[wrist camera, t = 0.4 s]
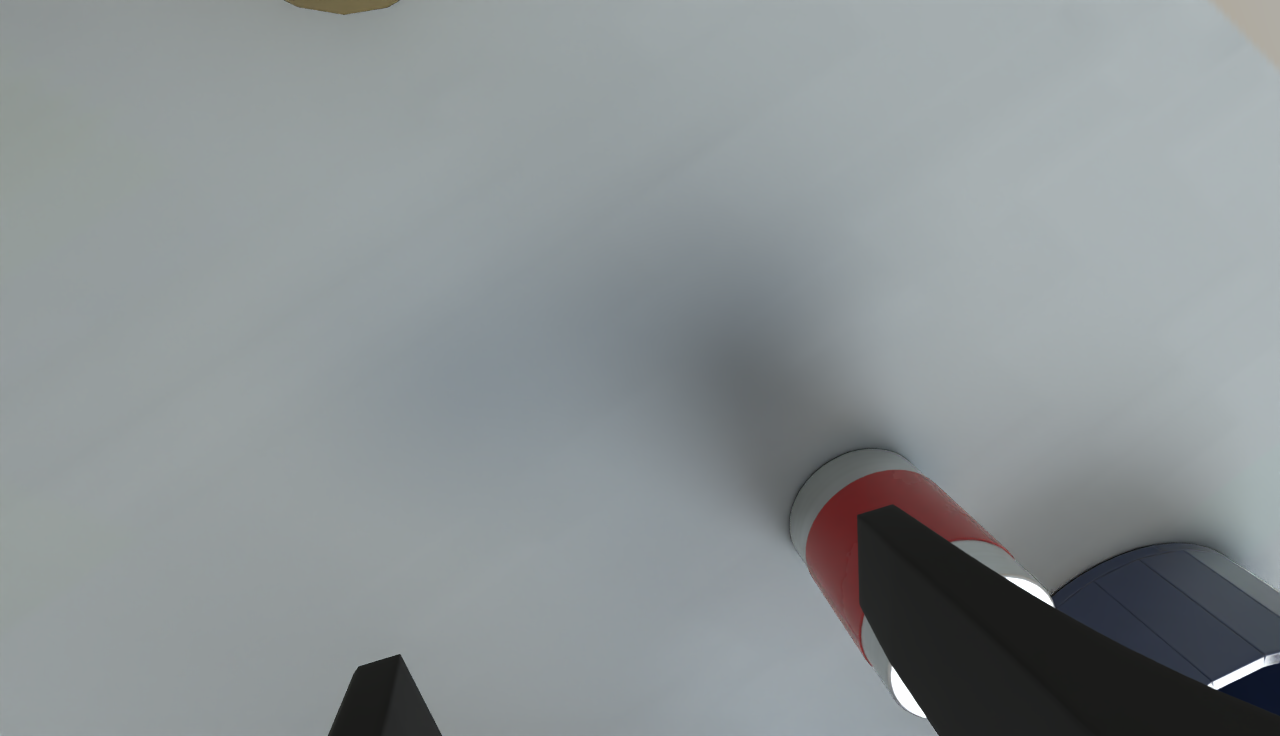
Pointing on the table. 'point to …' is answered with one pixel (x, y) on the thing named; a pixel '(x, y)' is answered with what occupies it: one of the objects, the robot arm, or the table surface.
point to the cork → (343, 5)
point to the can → (832, 539)
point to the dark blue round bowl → (1187, 616)
